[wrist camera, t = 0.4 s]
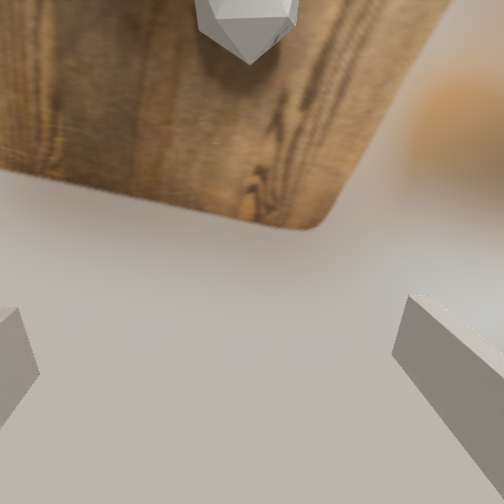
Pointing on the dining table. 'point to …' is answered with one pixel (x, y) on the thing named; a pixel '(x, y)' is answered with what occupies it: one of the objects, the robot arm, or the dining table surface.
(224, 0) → the die
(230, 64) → the dining table surface
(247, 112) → the dining table surface
